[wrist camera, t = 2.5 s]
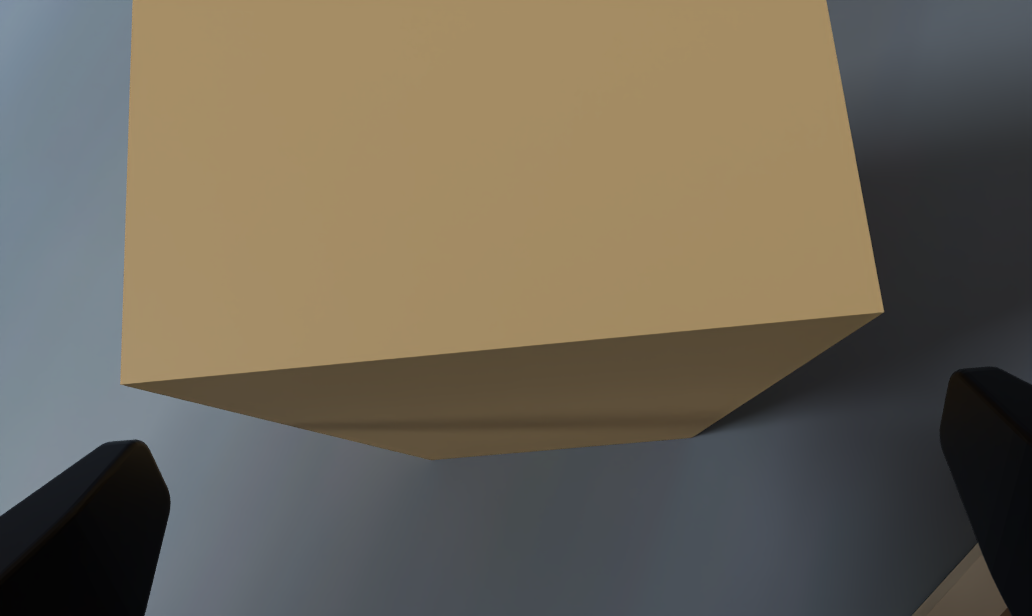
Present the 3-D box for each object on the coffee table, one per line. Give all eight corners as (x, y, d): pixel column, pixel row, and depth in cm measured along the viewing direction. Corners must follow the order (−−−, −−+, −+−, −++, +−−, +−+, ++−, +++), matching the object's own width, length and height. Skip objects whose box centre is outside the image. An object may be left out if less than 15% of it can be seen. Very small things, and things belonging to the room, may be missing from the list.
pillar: (691, 437, 19) (884, 311, 6) (430, 460, 19) (119, 383, 7) (665, 229, 20) (781, -233, 7) (420, 254, 20) (138, -140, 8)
